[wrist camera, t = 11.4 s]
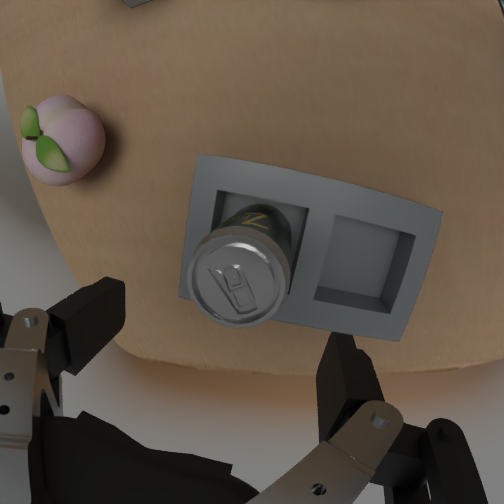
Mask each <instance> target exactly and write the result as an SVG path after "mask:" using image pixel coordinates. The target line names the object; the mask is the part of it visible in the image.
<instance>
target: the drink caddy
mask: <svg viewBox="0 0 504 504" xmlns="http://www.w3.org/2000/svg"><path fill="white" fill-rule="evenodd" d="M253 204H267V205H270V206H272V207H274V208H277V209H278V210H279V211H280V212H281V213H282V214H284V216H285V217H286V219H287V221H288V222H289V224H290V229H291V233H292V238H291V276H290V285H289V291H288V293H287V295H286V297H285V299H284V301H283V303H282V304H281V305H280V306H279V308H278V310H277V311H276V312H275V313H274V314H273V315H272V316H271V317H270V318H269V319H272V320H277V321H282V322H287V323H292V324H297V325H302V326H307V327H312V328H318V329H323V330H329V331H334V332H340V333H346V334H352V335H358V336H364V337H371V338H377V339H384V340H391V341H398V342H399V340H400V338H401V336H402V334H403V331H404V329H405V327H406V324H407V322H408V319H409V317H410V315H411V312H412V310H413V307H414V304H415V302H416V299H417V296H418V294H419V291H420V288H421V285H422V283H423V280H424V277H425V274H426V271H427V268H428V265H429V262H430V258H431V255H432V252H433V248H434V245H435V242H436V238H437V234H438V231H439V227H440V223H441V219H442V215H443V211H440V210H437V209H434V208H431V207H428V206H425V205H422V204H419V203H416V202H413V201H409V200H406V199H403V198H400V197H396V196H393V195H390V194H386V193H383V192H379V191H376V190H372V189H369V188H365V187H361V186H358V185H354V184H350V183H346V182H342V181H338V180H334V179H330V178H326V177H322V176H317V175H313V174H309V173H304V172H300V171H295V170H290V169H285V168H281V167H276V166H270V165H265V164H260V163H255V162H249V161H243V160H237V159H231V158H225V157H219V156H212V155H205V154H198V155H197V161H196V166H195V172H194V178H193V185H192V191H191V197H190V204H189V211H188V218H187V225H186V233H185V241H184V249H183V257H182V266H181V276H180V285H179V296H178V297H179V298H183V299H187V300H191V301H193V300H192V298H191V295H190V292H189V289H188V286H187V270H188V267H189V264H190V261H191V258H192V255H193V252H194V249H195V248H196V247H197V246H198V244H199V243H200V242H201V240H202V239H203V238H204V237H205V236H207V235H208V234H209V233H211V232H212V231H213V230H215V229H216V228H217V227H218V226H220V225H221V224H222V223H224V222H225V221H226V220H228V219H229V218H230V217H232V216H233V215H234V214H236V213H237V212H238V211H240V210H242V209H243V208H245V207H246V206H249V205H253Z"/></svg>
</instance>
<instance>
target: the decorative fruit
mask: <svg viewBox="0 0 504 504" xmlns="http://www.w3.org/2000/svg"><path fill="white" fill-rule="evenodd" d="M20 125H21V133H22V136H23V142H22V154H23V158H24V162H25V164H26V166H27V167H28V169H29V170H30V172H31V173H32V174H33V175H34V176H35V177H36V178H37V179H38V180H39V181H41V182H42V183H44V184H47V185H51V186H64V185H68V184H71V183H73V182H75V181H77V180H79V179H80V178H82V177H83V176H84V175H86V174H87V173H88V172H89V171H90V170H91V169H93V167H94V166H95V165H96V164H97V163H98V162H99V160H100V159H101V157H102V155H103V152H104V148H105V131H104V128H103V125H102V123H101V121H100V119H99V117H98V116H97V115H96V114H95V113H94V112H92V111H90V110H88V109H87V108H86V107H85V106H84V105H83V104H82V103H81V102H79V101H78V100H76V99H75V98H73V97H71V96H68V95H55V96H52V97H50V98H48V99H46V100H44V101H43V102H41V103H40V104H39V105H38V106H37V107H36V108H35V110H34V108H33V107H31V106H28V107H27V108H26V109H25V110H24V112H23V114H22V118H21V124H20Z"/></svg>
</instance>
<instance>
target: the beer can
mask: <svg viewBox="0 0 504 504" xmlns="http://www.w3.org/2000/svg"><path fill="white" fill-rule="evenodd" d="M291 238H292V233H291V229H290V224H289V222H288V221H287V219H286V217H285V216H284V214H282V213H281V212H280V211H279V210H278V209H277V208H274V207H272V206H270V205H267V204H253V205H249V206H246V207H245V208H243V209H242V210H240V211H238V212H237V213H236V214H234V215H233V216H232V217H230V218H229V219H228V220H226V221H225V222H224V223H222V224H221V225H220V226H218V227H217V228H216V229H215V230H213V231H212V232H211V233H209V234H208V235H207V236H205V237H204V238H203V239H202V240H201V242H200V243H199V244H198V246H197V247H196V248H195V249H194V252H193V255H192V258H191V261H190V264H189V267H188V270H187V286H188V289H189V292H190V295H191V298H192V300H193V301H194V303H195V304H196V306H197V307H198V308H199V310H200V311H201V312H202V313H203V314H205V315H206V316H207V317H208V318H210V319H211V320H212V321H215V322H217V323H219V324H222V325H224V326H228V327H235V328H245V327H251V326H255V325H258V324H260V323H262V322H264V321H266V320H268V319H269V318H270V317H271V316H272V315H273V314H274V313H275V312H276V311H277V310H278V308H279V306H280V305H281V304H282V303H283V301H284V299H285V297H286V295H287V293H288V291H289V285H290V276H291Z"/></svg>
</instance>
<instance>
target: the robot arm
mask: <svg viewBox="0 0 504 504" xmlns="http://www.w3.org/2000/svg"><path fill="white" fill-rule="evenodd" d="M124 322H125V284H124V282H123V281H120V280H117V279H114V278H110V277H104V278H102V279H101V280H99V281H98V282H96V283H94V284H93V285H89V286H86V287H82V288H81V289H79V290H78V291H76V292H74V294H71V295H69V296H68V297H67V299H66V298H65V299H63V300H62V301H60V302H59V303H57V304H56V305H54V306H52V307H51V308H49V309H48V310H46V311H44V310H42V309H38V308H27V309H23V310H21V311H19V312H17V313H16V314H15V315H14V316H11V315H7V314H3V311H2V307H1V303H0V504H352V503H353V502H354V501H355V499H356V498H357V497H358V496H359V494H360V493H361V492H362V490H363V489H364V488H365V487H366V485H367V484H368V482H370V483H374V484H378V485H382V486H384V496H385V504H488V501H487V498H486V495H485V491H484V488H483V485H482V482H481V479H480V476H479V473H478V470H477V467H476V464H475V462H474V459H473V456H472V454H471V451H470V449H469V446H468V443H467V441H466V439H465V436H464V433H463V431H462V430H461V428H460V427H459V426H458V425H457V424H456V423H454V422H452V421H451V420H448V419H444V418H438V419H435V420H432V421H431V422H430V423H429V425H428V426H427V427H426V429H425V428H420V427H417V426H412V425H409V424H406V423H404V421H403V417H402V415H401V413H400V412H399V410H398V409H397V408H395V407H394V406H393V405H391V404H389V403H387V402H385V400H384V397H383V394H382V391H381V387H380V384H379V381H378V379H377V377H376V376H377V375H376V372H375V370H374V367H373V364H372V361H371V358H370V357H369V356H368V355H367V354H366V353H365V352H364V351H363V350H360V349H357V348H356V345H355V341H354V338H353V336H352V335H350V334H344V333H338V332H332V333H331V334H330V336H329V339H328V342H327V345H326V347H325V350H324V353H323V356H322V358H321V361H320V363H319V366H318V370H317V375H316V387H317V406H318V426H319V445H318V446H317V447H316V448H314V449H313V450H312V451H311V452H310V453H309V454H308V455H307V456H305V457H304V458H303V459H302V460H301V461H300V462H299V463H297V464H296V465H295V466H294V467H293V468H291V469H290V470H289V471H288V472H287V473H285V474H284V475H283V476H282V477H280V478H279V479H278V480H277V481H275V482H274V483H273V484H271V485H270V486H269V487H268V488H266V489H265V490H264V491H262V492H261V493H260V492H258V491H257V490H256V489H255V488H253V487H252V486H250V485H249V484H247V483H246V482H244V481H242V480H240V479H239V478H237V477H234V476H232V475H230V474H231V470H232V464H228V463H224V462H220V461H215V460H211V459H208V458H204V457H200V456H197V455H193V454H186V453H176V452H167V451H161V450H154V449H149V448H146V447H144V446H143V445H141V444H140V443H138V442H137V441H135V440H134V439H132V438H131V437H129V436H128V435H126V434H125V433H124V432H122V431H121V430H119V429H118V428H117V427H115V426H114V425H112V424H109V423H107V422H105V421H103V420H101V419H99V418H97V417H95V416H93V415H91V414H89V413H87V412H85V411H82V412H81V413H80V414H79V416H78V417H77V418H70V417H64V416H63V401H62V400H63V399H62V377H61V372H62V371H63V370H65V371H67V372H69V373H71V374H73V375H74V376H76V375H77V374H78V373H79V372H80V371H81V370H82V369H83V368H84V367H85V366H86V365H87V363H89V362H90V361H91V359H92V358H93V357H94V356H95V355H96V354H97V353H98V352H99V351H100V350H101V349H102V348H103V347H104V346H105V345H106V344H107V343H108V342H109V341H110V340H111V339H113V338H114V337H115V336H116V335H117V334H118V333H119V332H120V331H121V329H122V328H123V325H124ZM427 482H428V485H429V490H430V495H431V500H430V498H429V493H428V487H427Z"/></svg>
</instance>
